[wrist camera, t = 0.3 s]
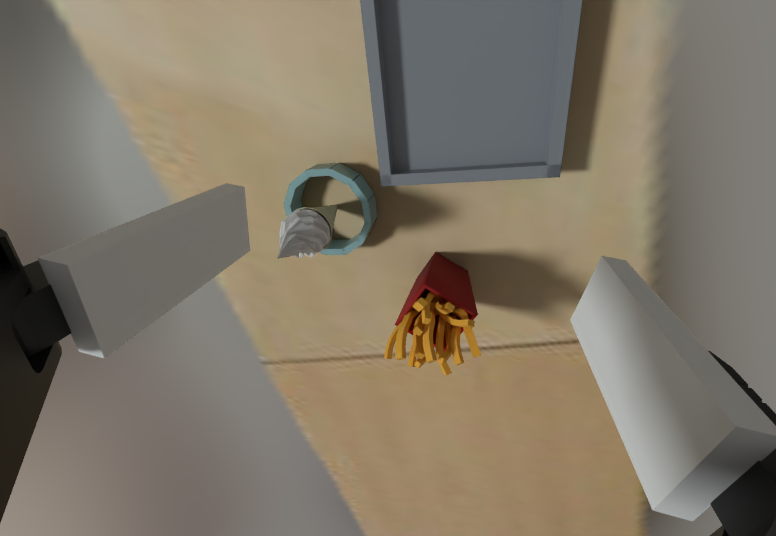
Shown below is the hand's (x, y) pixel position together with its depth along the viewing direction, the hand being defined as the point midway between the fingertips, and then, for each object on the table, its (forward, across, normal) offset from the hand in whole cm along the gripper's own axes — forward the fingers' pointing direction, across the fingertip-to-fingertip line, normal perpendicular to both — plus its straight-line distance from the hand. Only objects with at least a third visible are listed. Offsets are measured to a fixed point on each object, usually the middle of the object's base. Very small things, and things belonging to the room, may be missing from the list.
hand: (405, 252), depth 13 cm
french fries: (+28, +3, -17) cm, 33 cm away
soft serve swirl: (+28, -12, -9) cm, 32 cm away
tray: (+28, 0, +10) cm, 29 cm away
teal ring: (+28, -12, -9) cm, 32 cm away
